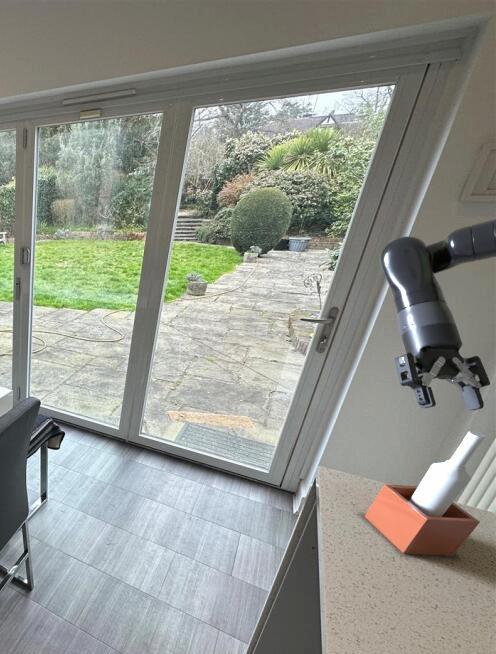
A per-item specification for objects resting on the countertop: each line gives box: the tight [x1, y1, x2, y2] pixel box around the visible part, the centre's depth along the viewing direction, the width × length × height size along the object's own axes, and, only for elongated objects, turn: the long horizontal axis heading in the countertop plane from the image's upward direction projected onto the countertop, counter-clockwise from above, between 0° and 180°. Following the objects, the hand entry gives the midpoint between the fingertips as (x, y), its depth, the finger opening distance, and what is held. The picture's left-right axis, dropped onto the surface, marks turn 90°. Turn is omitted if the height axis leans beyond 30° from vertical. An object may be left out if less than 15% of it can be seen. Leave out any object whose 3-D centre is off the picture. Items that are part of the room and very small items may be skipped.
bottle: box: [409, 430, 487, 517], centre depth 78 cm, size 5×5×25 cm
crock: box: [364, 483, 481, 557], centre depth 81 cm, size 10×10×9 cm
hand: (452, 408), depth 76 cm, fingers open, 8 cm apart
